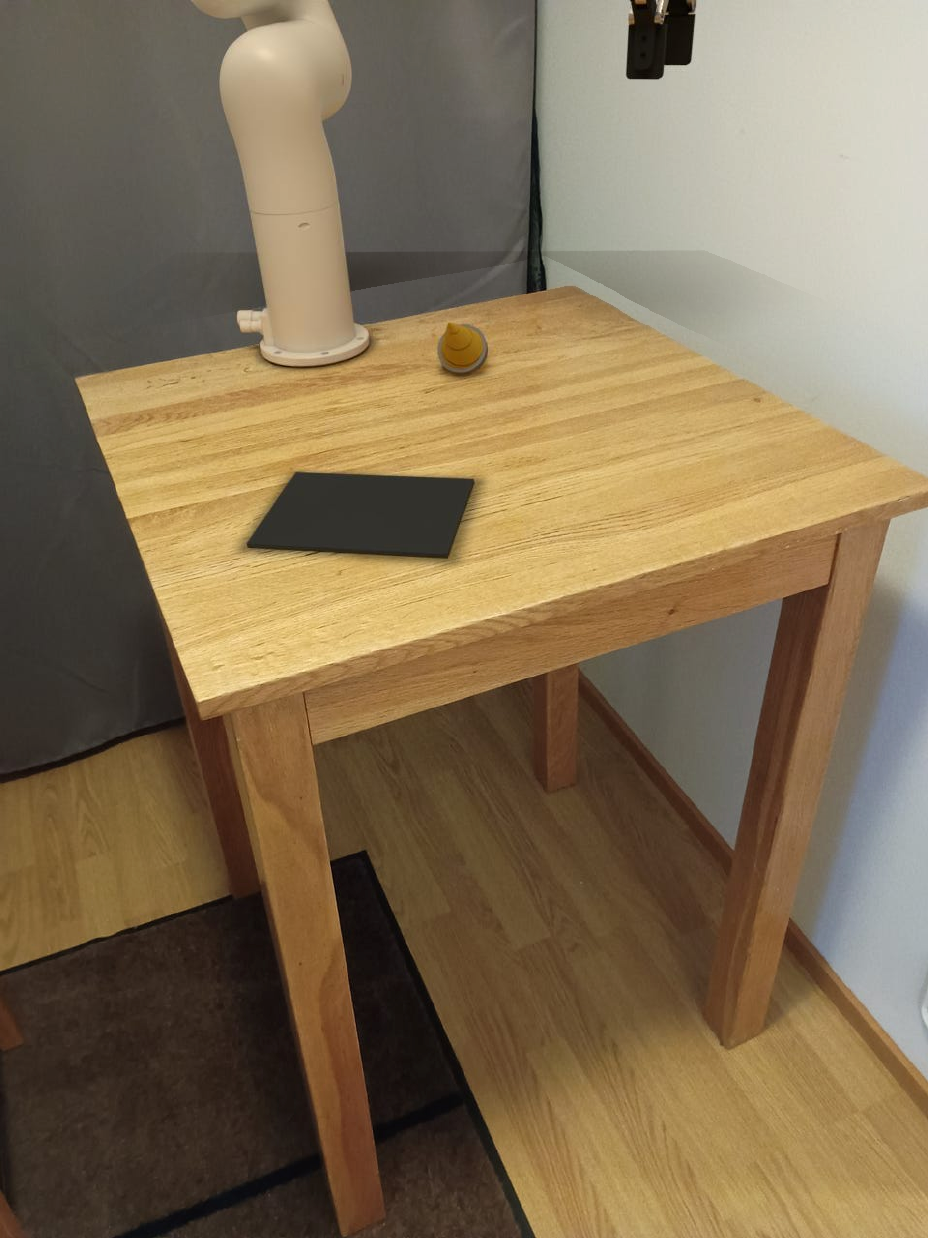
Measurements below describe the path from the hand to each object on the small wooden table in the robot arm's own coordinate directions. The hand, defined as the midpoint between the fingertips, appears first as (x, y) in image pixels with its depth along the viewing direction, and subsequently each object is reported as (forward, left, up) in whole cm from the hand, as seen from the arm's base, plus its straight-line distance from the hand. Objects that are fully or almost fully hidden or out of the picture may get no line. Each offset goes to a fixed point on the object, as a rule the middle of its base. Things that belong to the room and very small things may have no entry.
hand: (659, 71), depth 84 cm
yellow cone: (-18, -5, -27) cm, 33 cm away
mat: (-21, -35, -27) cm, 49 cm away
